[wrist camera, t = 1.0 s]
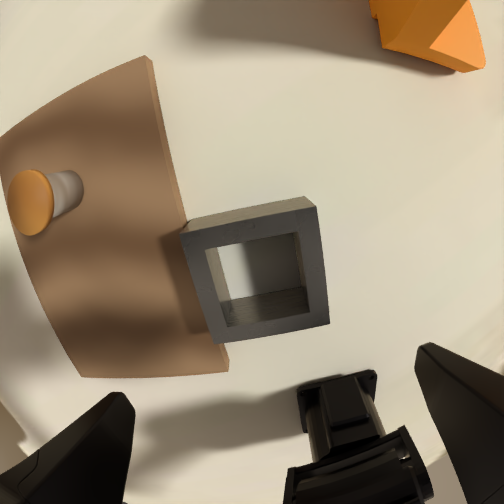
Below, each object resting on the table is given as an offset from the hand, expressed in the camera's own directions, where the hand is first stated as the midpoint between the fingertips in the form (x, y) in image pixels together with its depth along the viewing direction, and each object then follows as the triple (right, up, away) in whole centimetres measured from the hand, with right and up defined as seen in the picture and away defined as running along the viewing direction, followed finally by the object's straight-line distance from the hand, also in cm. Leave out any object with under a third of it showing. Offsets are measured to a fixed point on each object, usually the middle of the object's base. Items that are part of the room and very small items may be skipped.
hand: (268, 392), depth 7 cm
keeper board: (-10, +4, +9) cm, 15 cm away
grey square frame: (0, +3, +9) cm, 10 cm away
